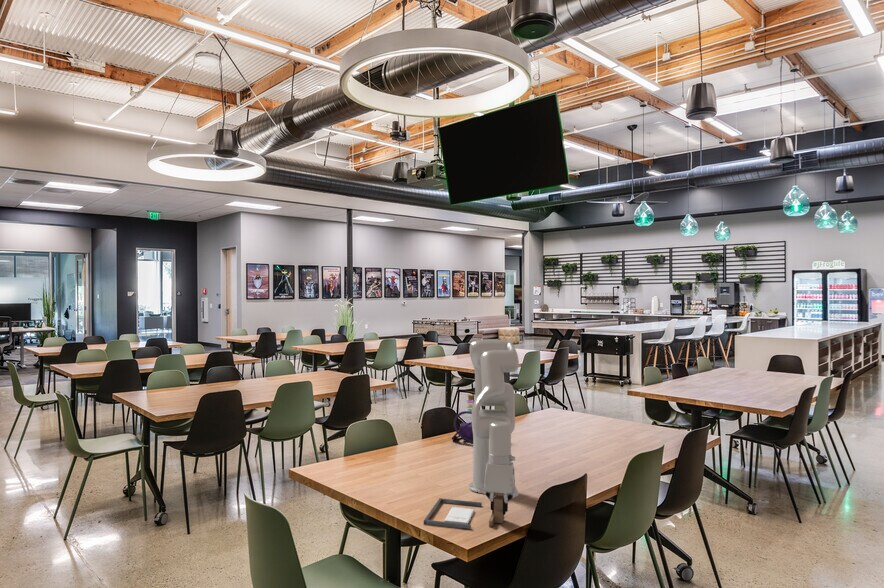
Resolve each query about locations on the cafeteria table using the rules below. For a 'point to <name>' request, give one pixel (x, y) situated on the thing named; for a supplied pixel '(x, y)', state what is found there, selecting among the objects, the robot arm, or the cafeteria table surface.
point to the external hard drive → (459, 515)
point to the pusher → (497, 510)
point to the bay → (449, 524)
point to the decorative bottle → (465, 428)
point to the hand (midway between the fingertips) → (499, 512)
